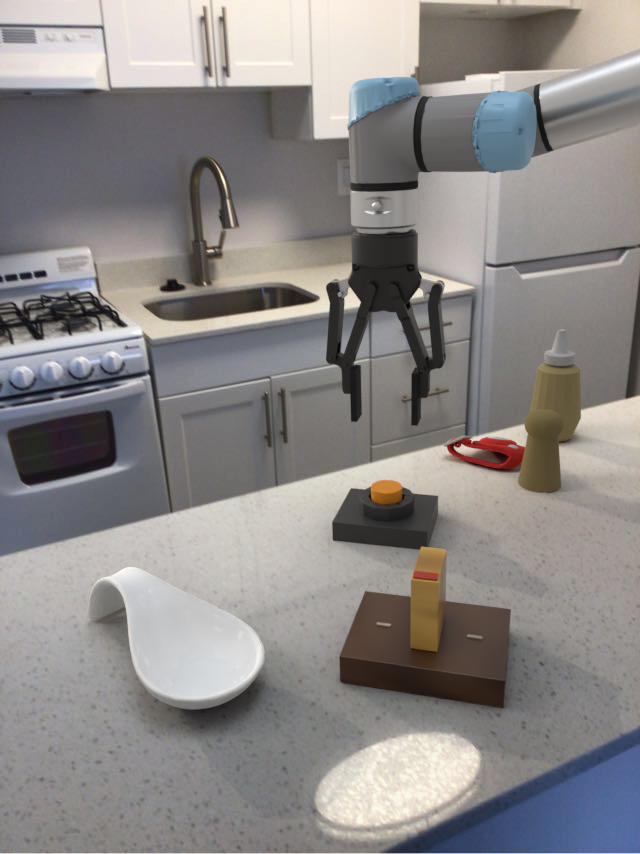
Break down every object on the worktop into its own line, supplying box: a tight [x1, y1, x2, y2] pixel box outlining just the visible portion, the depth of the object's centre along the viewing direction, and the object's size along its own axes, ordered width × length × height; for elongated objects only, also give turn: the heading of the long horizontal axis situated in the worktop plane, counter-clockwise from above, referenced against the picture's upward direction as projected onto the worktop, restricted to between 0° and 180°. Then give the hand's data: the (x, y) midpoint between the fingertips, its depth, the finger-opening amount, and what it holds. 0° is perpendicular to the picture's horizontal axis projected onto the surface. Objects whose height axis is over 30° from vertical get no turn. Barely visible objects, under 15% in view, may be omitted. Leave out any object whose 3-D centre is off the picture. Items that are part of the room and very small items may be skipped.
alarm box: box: [331, 486, 439, 551], centre depth 98 cm, size 12×10×4 cm
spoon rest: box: [87, 566, 266, 710], centre depth 74 cm, size 24×12×7 cm, turn 46°
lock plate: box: [338, 590, 512, 709], centre depth 74 cm, size 15×11×3 cm
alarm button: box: [370, 479, 403, 504], centre depth 97 cm, size 4×4×2 cm
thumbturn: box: [410, 546, 448, 652], centre depth 72 cm, size 6×2×8 cm, turn 164°
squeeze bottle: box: [529, 328, 582, 443], centre depth 122 cm, size 8×8×18 cm
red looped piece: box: [443, 434, 525, 470], centre depth 116 cm, size 12×4×10 cm
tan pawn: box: [517, 409, 563, 494], centre depth 107 cm, size 6×6×11 cm
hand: (385, 419), depth 93 cm, fingers open, 7 cm apart
